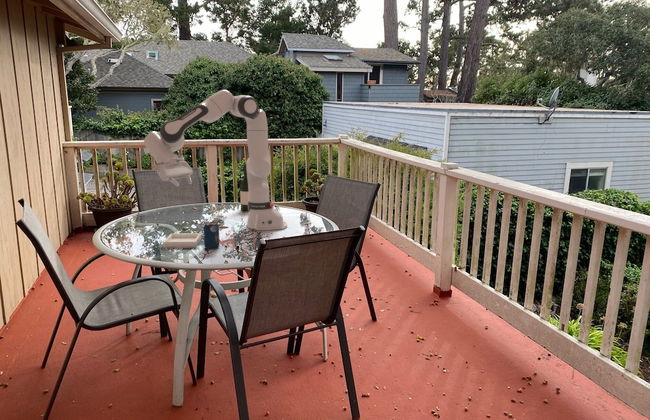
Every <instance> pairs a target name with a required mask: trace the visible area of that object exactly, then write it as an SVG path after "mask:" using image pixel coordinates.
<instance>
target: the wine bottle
mask: <svg viewBox="0 0 650 420" xmlns="http://www.w3.org/2000/svg"><path fill="white" fill-rule="evenodd" d="M239 187H240V188H239V190H240V191H239V193H240V195H239V196H240V197H239V198H240V211H241V212H249V211H248V201H249V188H248V179H247V170H246V162H244V163H243V178H242V181H241V182H240V183H239Z"/></svg>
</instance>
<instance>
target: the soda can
mask: <svg viewBox="0 0 650 420" xmlns="http://www.w3.org/2000/svg"><path fill="white" fill-rule="evenodd" d="M203 242H204V245H203V246H204V247H205V249H207V250H211V251H213V250H217V249H219V247H220V246H221V245H220V244H221V243H220V226H219V225H218V222H216V221H208V222H207V221H206V222H205V223H204V225H203Z"/></svg>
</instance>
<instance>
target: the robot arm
mask: <svg viewBox="0 0 650 420" xmlns="http://www.w3.org/2000/svg"><path fill="white" fill-rule="evenodd" d="M226 113H229V114H230V115H231V116H233V117H238V118H244V120H245V121H246V145H247V149H248V150H247V151H248V158H247V159H246V161H245V163H246V170H247V179H248V188H249V201H248V211H247V212H248V216H247V223H246V228H247V229H251V230H255V231H272V230H284V229H286V228H288V222H286V221H285V220H284V218H283V217H284V216H283V215H282V213H281V212H280V211H278V210H277V209H275V208H274V203H273V201H270V188H269V187H270V186H269V182H268V176H269V175H270V174H271V172H272V165H271V164H272V163H271V156H270V147H269V129H268V128H269V127H268V119H267V116H266V115H267V114H266V112H265V111H264V109H261V108H260V107H259V103H258V100H257V99H255V97H253V96H250V95H244V94H243V95H241V94H240V95H233V93H231V92H230V90H227V89H221V90H219V91H217V92H215V93H213V94H212V95H210V96H209V97H207V98H205V100H204V101H202V102H201V103H199V104H198V105H195V106H193V107H192V108H190V109H189V110H187V111H186V112H184V113H183V114H180V115H179V116H178V117H176V118H173V119H169V120H167V121H165V122H163V123H162V125H160V129H159V131H150V132H149V133H148V134H147V135H145V137H144V140H143V144H144V146H145V148H146V150H147V151H148V152H149V154H150V155H151V157H153V158H154V160H155V163H154V168H155V170H156V173H157V175H158V177H159V178H160V180H162V181H163V182H166V181H169V183H172V185H174V186H175V188H176V187H179V186H180V185H181V184H180V182H179V181H177V180H178V179H184V178H185V179H186V180H187V181H186V183H187V185H192V184H193V180H192V178H191V176H192V175H193V174H194V172H193V168H192V167H191V166H190V165H189V163H188V162H187V161H186V160H185V157H184V156H183V155H179V154H176V153H175V152H177V151H179V150H182V148H183V147H184V146H185V144H186V143H185V142H186V140H185V135H184V132H185V131H186V130H187V129H188V128H190V127H191V126H193V125H195V124H196V123H197V122H199V121H203V122H205V123H209V124H211V123H214V122H217V121H218V120H219V119H220V118H222V117H223V116H224V115H225V114H226Z"/></svg>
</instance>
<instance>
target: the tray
mask: <svg viewBox="0 0 650 420" xmlns="http://www.w3.org/2000/svg"><path fill="white" fill-rule="evenodd" d="M202 239H203V238H202V233H201V232H200V233H199V232H198V233H197V232H195V233H193V232H192V233H191V232H190V233H189V232H188V233H187V232H186V233H179V232H178V233H170V234H169V235H168V236H167V237H166V239H165V240H164V241H162V242H163V249H196V248H198V246H199V244H200V242H201V241H202Z"/></svg>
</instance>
